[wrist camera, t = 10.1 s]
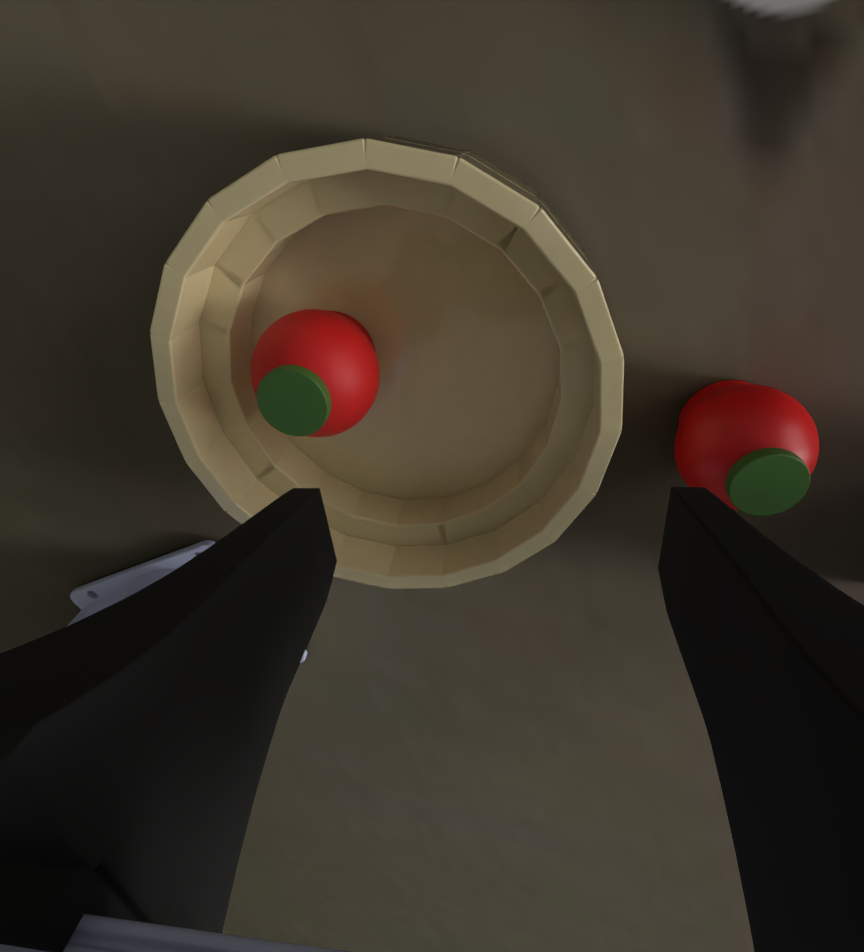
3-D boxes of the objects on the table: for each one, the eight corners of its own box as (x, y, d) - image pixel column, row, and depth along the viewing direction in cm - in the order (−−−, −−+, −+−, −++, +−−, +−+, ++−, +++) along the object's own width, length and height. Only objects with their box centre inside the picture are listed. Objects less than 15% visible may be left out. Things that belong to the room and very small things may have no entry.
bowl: (343, 555, 24) (314, 624, 21) (139, 267, 18) (53, 298, 15) (653, 456, 19) (680, 524, 16) (509, 33, 14) (505, 3, 10)
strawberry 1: (319, 419, 20) (276, 481, 16) (258, 323, 18) (195, 369, 15) (411, 379, 18) (385, 438, 15) (354, 273, 17) (311, 310, 13)
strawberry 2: (717, 485, 20) (759, 562, 16) (637, 428, 19) (663, 495, 15) (812, 408, 18) (884, 476, 14) (727, 340, 17) (781, 395, 13)
